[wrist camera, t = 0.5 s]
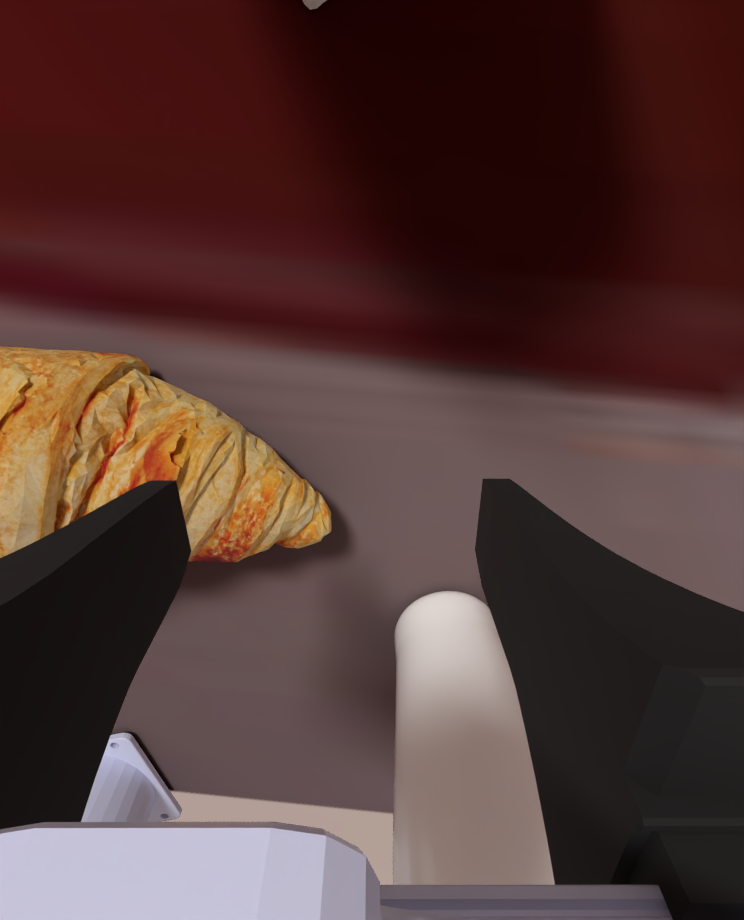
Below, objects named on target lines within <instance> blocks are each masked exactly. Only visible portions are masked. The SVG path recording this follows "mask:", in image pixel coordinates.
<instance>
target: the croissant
mask: <svg viewBox="0 0 744 920" xmlns="http://www.w3.org/2000/svg"><path fill="white" fill-rule="evenodd" d="M151 480H176V482H177V486H178V491H179V496H180V500H181V505H182V509H183V514H184V519H185V523H186V528H187V533H188V537H189V542H190V547H191V554H190V557H189V560H188V562H189V561H220V562H239V561H240V560H242V559H244V558H246V557H248V556H252V555H254V554H257V553H259V552H262V551H266V550H268V549H269V548H270V547H271V546H272V545H273V544H274V543H276V544H278V545H281V546H283V547H286V548H302V547H305V546H308V545H311V544H314V543H317V542H320V541H321V540H322V538H323V537H324V536H326V535H327V534H329V533H330V532H331V515H332V514H331V512H330V509H329V507H328V505H327V504H326V502H325V500H324V499H323V497H322V496H321V494H320V493H319V492H317V491H314V489H313V488H312V487H311V485H310V484H309V483H308V482H307V481H306V479H301V478H300V477H299V476H298V475H297V474H296V473H295V472H294V471H293V470H292V469H291V468H290V467H289V466H288V465H287V464H286V463H285V462H284V461H283V460H282V459H281V458H280V457H279V456H278V455H277V453H276V452H275V451H274V450H273V449H272V448H271V447H270V446H269V445H268V444H266V443H265V442H264V441H262V440H261V439H260V438H258V437H256V436H255V435H252V434H251V433H250V432H248V431H247V430H246V429H245V428H244V427H243V426H242V425H241V424H240V423H239V422H238V421H236V420H234V419H232V418H230V417H229V416H227V415H226V414H225V413H223V412H222V411H221V410H220V409H218V408H217V407H215V406H214V405H212V404H211V403H209V402H207V401H205V400H202V399H200V398H197V397H195V396H193V395H191V394H189V393H187V392H185V391H184V390H182V389H180V388H178V387H176V386H173V385H171V384H169V383H167V382H165V381H162V380H160V379H157V378H155V377H152V376H150V370H149V367H148V366H147V364H146V363H145V362H144V361H142V360H140V359H139V358H137V357H135V356H133V355H127V354H117V353H93V352H87V351H79V350H43V349H34V348H22V347H13V348H12V347H3V346H0V558H2V557H4V556H6V555H8V554H11V553H13V552H15V551H17V550H19V549H21V548H23V547H25V546H27V545H30V544H32V543H33V542H35V541H37V540H39V539H41V538H43V537H45V536H47V535H49V534H51V533H53V532H55V531H57V530H58V529H60V528H62V527H64V526H66V525H68V524H70V523H72V522H74V521H76V520H77V519H79V518H81V517H83V516H85V515H86V514H88V513H90V512H92V511H93V510H95V509H97V508H99V507H101V506H102V505H104V504H106V503H108V502H109V501H111V500H113V499H115V498H117V497H118V496H120V495H122V494H124V493H126V492H127V491H129V490H131V489H133V488H135V487H137V486H139V485H141V484H143V483H146V482H148V481H151Z"/></svg>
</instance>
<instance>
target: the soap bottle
mask: <svg viewBox="0 0 744 920" xmlns="http://www.w3.org/2000/svg"><path fill="white" fill-rule="evenodd" d="M302 1H303V2H304V4H305V5H306V6H307V7H308V8H309V9H310V10H312V9H316V8H318V7H319V6H320V5H321V4H323V3H324V2H325V1H326V0H302Z"/></svg>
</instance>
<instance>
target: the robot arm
mask: <svg viewBox="0 0 744 920" xmlns="http://www.w3.org/2000/svg"><path fill="white" fill-rule="evenodd" d="M475 552H476V557H477V563H478V568H479V573H480V578H481V583H482V587H483V590H484V593H485V597H486V600H487V603H488V606H489V609H490V612H491V615H492V617H493V620H494V623H495V626H496V629H497V632H498V635H499V638H500V641H501V644H502V647H503V650H504V653H505V656H506V658H507V661H508V664H509V667H510V670H511V674H512V677H513V681H514V684H515V688H516V692H517V696H518V701H519V705H520V709H521V714H522V718H523V722H524V727H525V731H526V736H527V741H528V746H529V750H530V755H531V760H532V765H533V769H534V774H535V779H536V784H537V789H538V794H539V800H540V805H541V810H542V815H543V821H544V826H545V831H546V836H547V842H548V847H549V853H550V859H551V865H552V871H553V876H554V882H555V885H380V881H379V880H378V878H377V876H376V874H375V872H374V870H373V868H372V867H371V865H370V863H369V861H368V859H367V857H366V856H365V855H364V854H363V852H362V851H361V850H359V848H358V847H356V846H354V845H352V844H351V843H349V842H347V841H345V840H343V839H341V838H339V837H337V836H335V835H333V834H331V833H329V832H327V831H326V830H324V829H320V828H313V827H307V826H300V825H292V824H285V823H279V822H161V821H166V820H172V819H176V818H178V817H180V813H181V810H182V809H181V807H180V805H179V804H178V802H177V801H176V800H175V798H174V797H173V795H172V794H171V792H170V791H169V789H168V788H167V786H166V785H165V783H164V782H163V780H162V779H161V777H160V776H159V774H158V773H157V771H156V770H155V768H154V767H153V765H152V764H151V762H150V761H149V759H148V758H147V756H146V755H145V753H144V752H143V750H142V749H141V747H140V746H139V744H138V743H137V741H136V740H135V738H134V737H133V736H132V735H131V734H129V733H119V734H113V735H111V732H112V730H113V727H114V725H115V722H116V720H117V717H118V714H119V712H120V709H121V707H122V704H123V701H124V699H125V696H126V694H127V691H128V689H129V687H130V684H131V682H132V680H133V678H134V676H135V674H136V671H137V669H138V667H139V665H140V663H141V662H142V660H143V658H144V656H145V654H146V652H147V650H148V648H149V646H150V644H151V642H152V640H153V638H154V636H155V634H156V632H157V630H158V629H159V627H160V625H161V623H162V621H163V619H164V617H165V615H166V613H167V611H168V609H169V607H170V605H171V603H172V601H173V599H174V597H175V595H176V593H177V591H178V589H179V587H180V584H181V581H182V578H183V575H184V573H185V570H186V566H187V563H188V560H189V557H190V554H191V547H190V542H189V537H188V533H187V528H186V523H185V519H184V514H183V509H182V505H181V500H180V496H179V491H178V486H177V482H176V480H151V481H148V482H146V483H143V484H141V485H139V486H137V487H135V488H133V489H131V490H129V491H127V492H126V493H124V494H122V495H120V496H118V497H117V498H115V499H113V500H111V501H109V502H108V503H106V504H104V505H102V506H101V507H99V508H97V509H95V510H93V511H92V512H90V513H88V514H86V515H85V516H83V517H81V518H79V519H77V520H76V521H74V522H72V523H70V524H68V525H66V526H64V527H62V528H60V529H58V530H57V531H55V532H53V533H51V534H49V535H47V536H45V537H43V538H41V539H39V540H37V541H35V542H33V543H32V544H30V545H27V546H25V547H23V548H21V549H19V550H17V551H15V552H13V553H11V554H8V555H6V556H4V557H2V558H0V920H744V612H742V611H739V610H737V609H734V608H731V607H729V606H726V605H723V604H721V603H718V602H716V601H713V600H711V599H708V598H706V597H703V596H701V595H699V594H696V593H694V592H692V591H690V590H687V589H685V588H683V587H681V586H678V585H676V584H674V583H672V582H670V581H667V580H665V579H663V578H661V577H659V576H657V575H655V574H653V573H651V572H649V571H647V570H645V569H643V568H641V567H639V566H637V565H636V564H634V563H632V562H630V561H628V560H627V559H625V558H623V557H621V556H619V555H617V554H616V553H614V552H612V551H611V550H609V549H607V548H606V547H604V546H602V545H601V544H599V543H598V542H596V541H595V540H593V539H591V538H590V537H588V536H587V535H585V534H584V533H582V532H581V531H579V530H578V529H576V528H575V527H573V526H572V525H571V524H569V523H568V522H566V521H565V520H564V519H562V518H561V517H559V516H558V515H557V514H555V513H554V512H553V511H551V510H550V509H549V508H547V507H546V506H545V505H544V504H542V503H541V502H540V501H538V500H537V499H536V498H534V497H533V496H532V495H531V494H529V493H528V492H527V491H525V490H524V489H523V488H522V487H520V486H519V485H518V484H516V483H515V482H513V481H512V480H510V479H483V483H482V492H481V501H480V510H479V519H478V529H477V538H476V547H475Z"/></svg>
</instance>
